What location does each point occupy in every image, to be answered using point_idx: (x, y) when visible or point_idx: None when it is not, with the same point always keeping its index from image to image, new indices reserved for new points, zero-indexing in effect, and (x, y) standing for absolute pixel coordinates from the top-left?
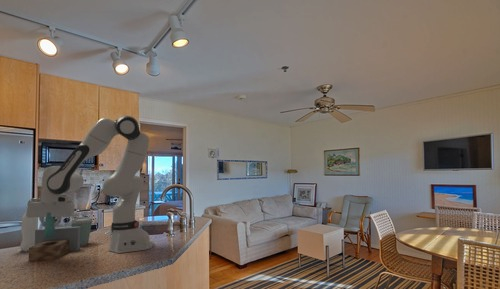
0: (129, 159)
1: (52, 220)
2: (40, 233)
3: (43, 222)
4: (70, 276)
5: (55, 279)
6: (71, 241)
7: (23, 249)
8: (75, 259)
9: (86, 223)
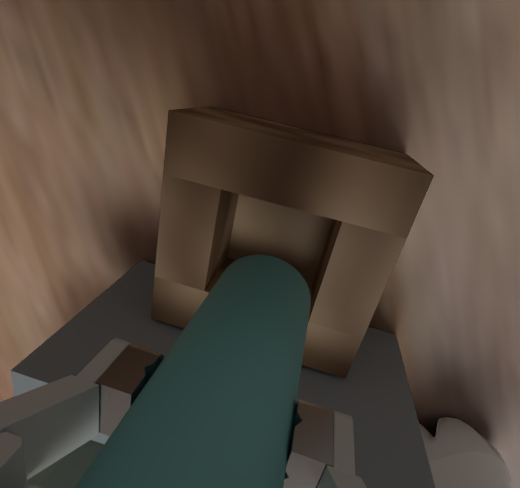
0: None
1: (120, 429)
2: (378, 455)
3: (323, 485)
4: None
5: None
6: (144, 305)
7: (476, 432)
8: (79, 26)
9: None
